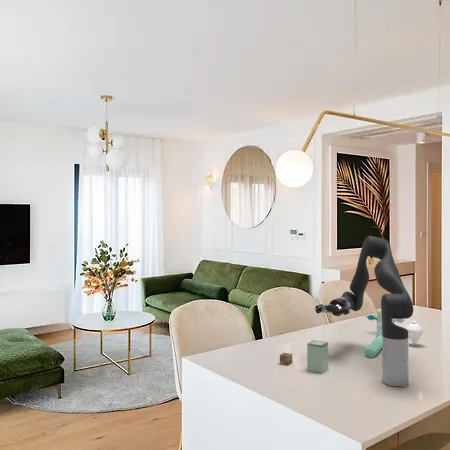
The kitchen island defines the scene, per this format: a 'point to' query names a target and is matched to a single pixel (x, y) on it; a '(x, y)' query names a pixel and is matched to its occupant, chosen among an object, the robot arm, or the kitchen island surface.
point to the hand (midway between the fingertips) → (326, 312)
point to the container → (374, 347)
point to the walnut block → (286, 359)
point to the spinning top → (414, 332)
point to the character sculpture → (379, 320)
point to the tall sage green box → (317, 356)
